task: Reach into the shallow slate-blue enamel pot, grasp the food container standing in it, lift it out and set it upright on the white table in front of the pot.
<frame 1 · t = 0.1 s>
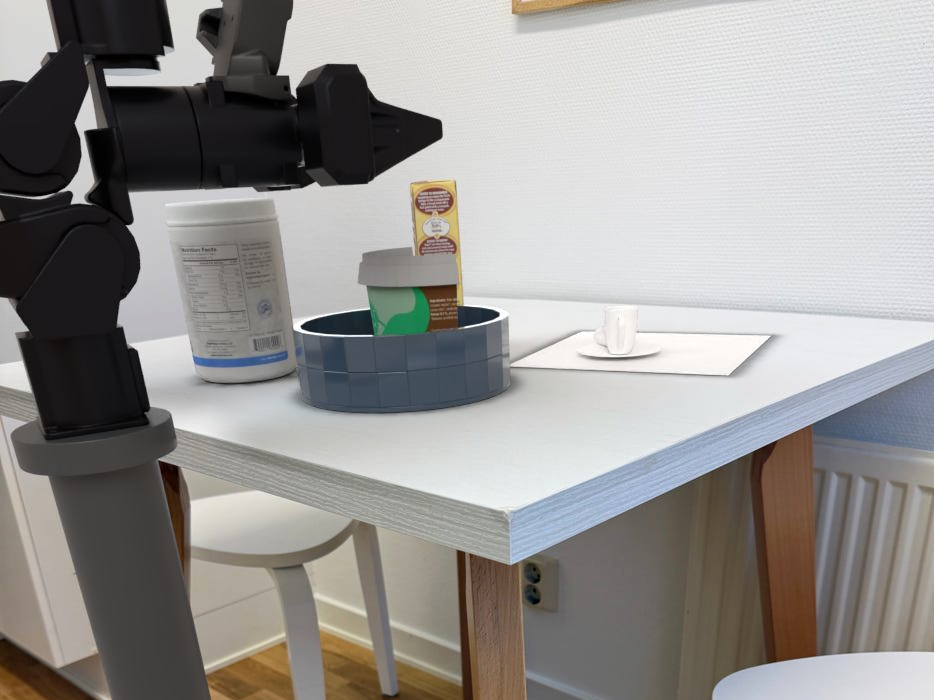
hand: (412, 134, 62), 18 cm above the table, tool horizontal, fingers open, 9 cm apart
pot: (406, 388, 73), on the table
food container: (406, 385, 73), resting on pot
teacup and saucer: (644, 352, 84), on the table
candy box: (443, 355, 88), on the table
supplement tub: (249, 376, 82), on the table
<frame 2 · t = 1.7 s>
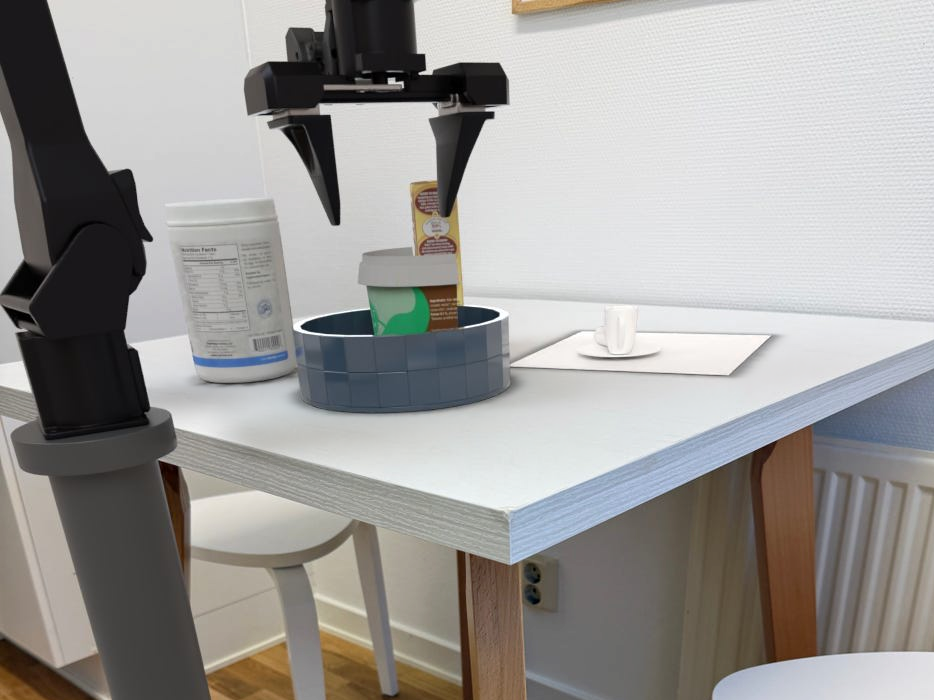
hand: (392, 221, 68), 13 cm above the table, tool pointing down, fingers open, 9 cm apart
nothing on the table moved.
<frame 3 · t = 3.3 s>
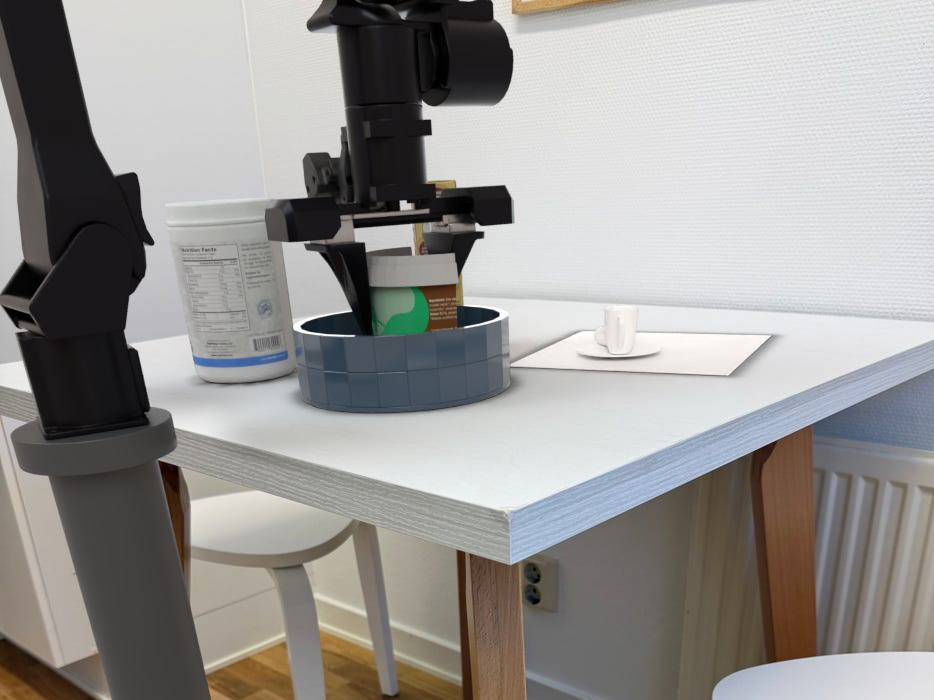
hand: (403, 330, 71), 5 cm above the table, tool pointing down, fingers closed on food container, 6 cm apart
food container: (406, 385, 73), resting on pot, touching gripper
everything else where it was.
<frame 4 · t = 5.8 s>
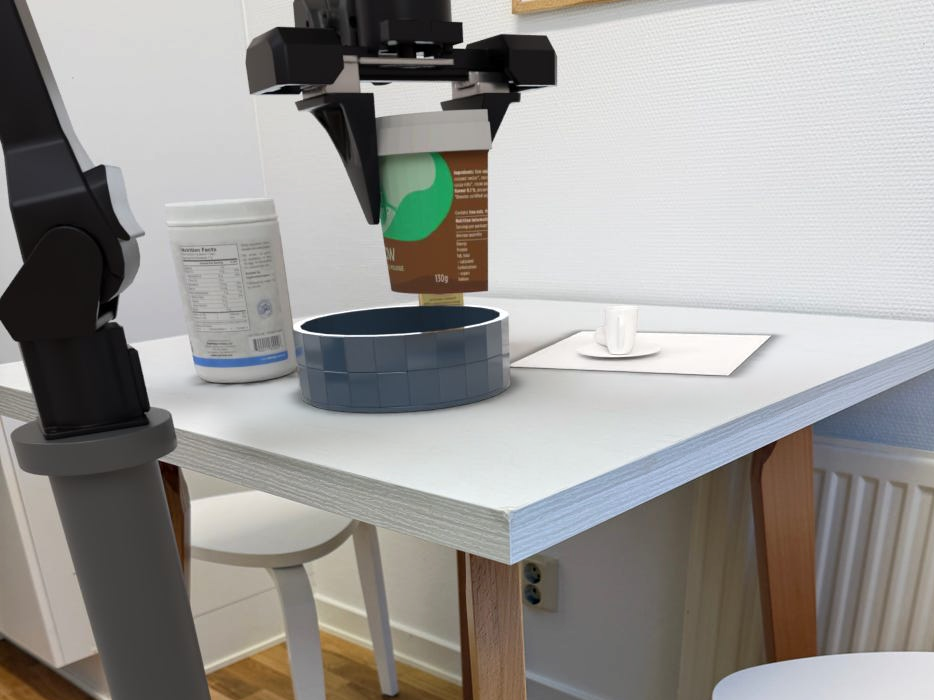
hand: (418, 221, 58), 13 cm above the table, tool pointing down, fingers closed on food container, 6 cm apart
food container: (420, 292, 60), point 9 cm above the table, touching gripper
everything else where it was.
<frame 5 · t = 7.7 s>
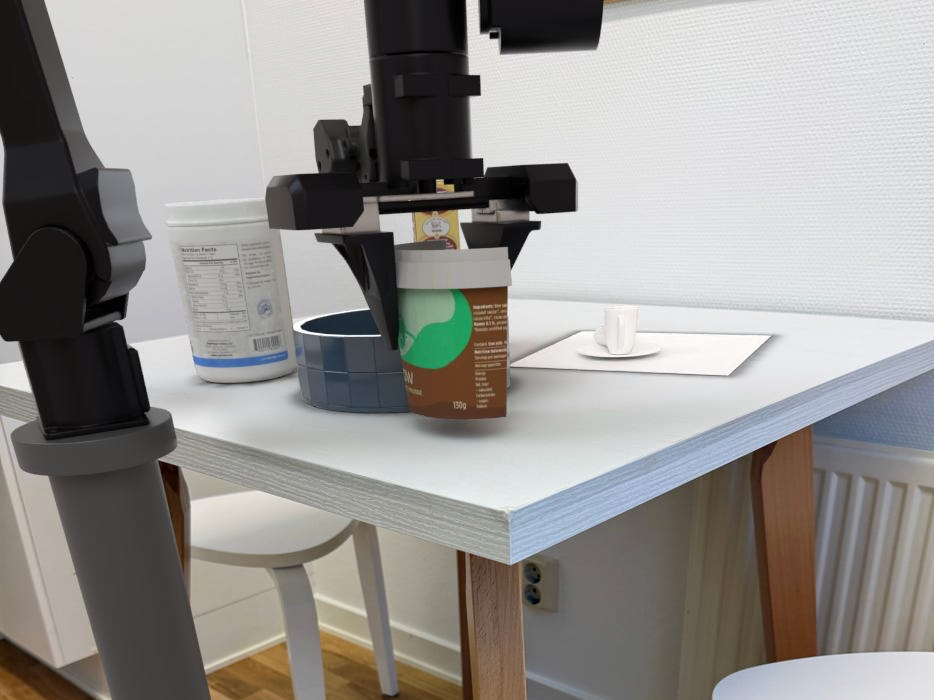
hand: (436, 343, 57), 6 cm above the table, tool pointing down, fingers closed on food container, 6 cm apart
food container: (438, 411, 59), point 1 cm above the table, touching gripper
everything else where it was.
when the fingers open (4 cm above the table, at t = 8.7 s): food container stays where it is, on the table.
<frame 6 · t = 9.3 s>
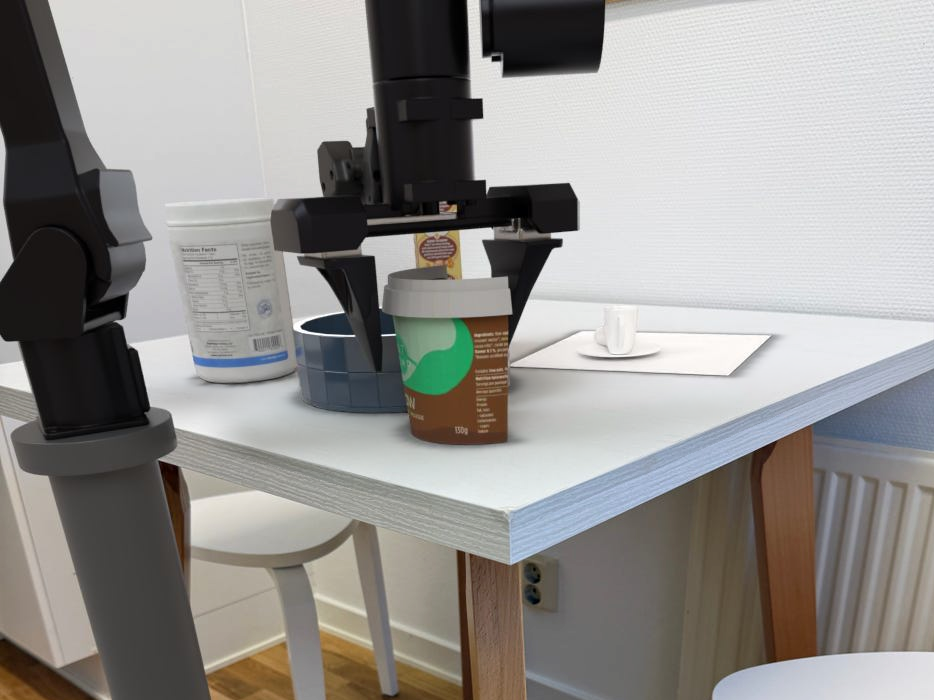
hand: (440, 361, 58), 5 cm above the table, tool pointing down, fingers open, 9 cm apart
food container: (440, 434, 60), on the table
everything else where it was.
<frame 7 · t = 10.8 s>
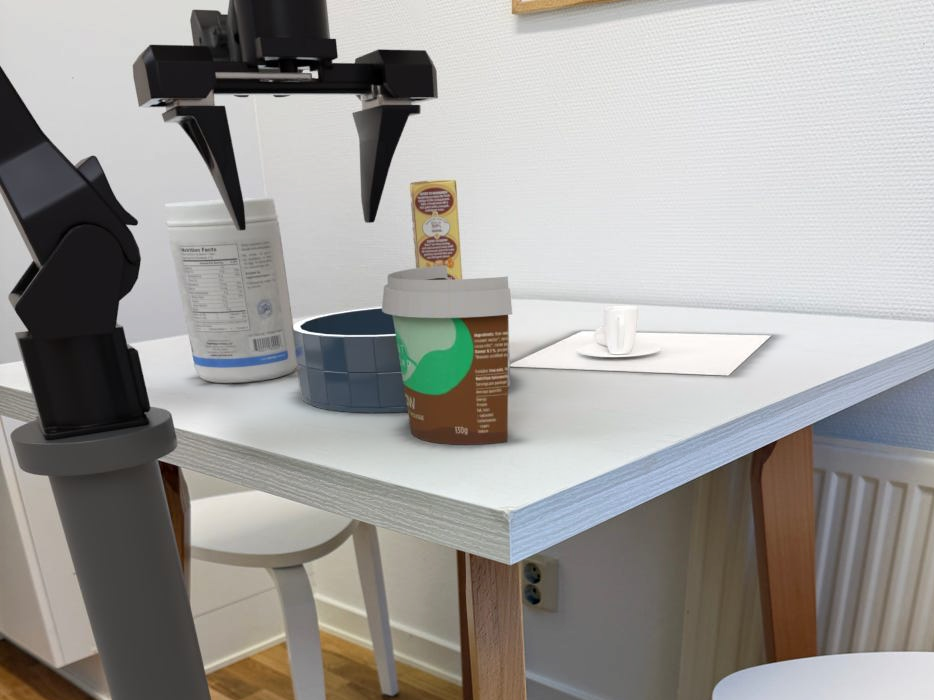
hand: (307, 226, 61), 13 cm above the table, tool pointing down, fingers open, 9 cm apart
nothing on the table moved.
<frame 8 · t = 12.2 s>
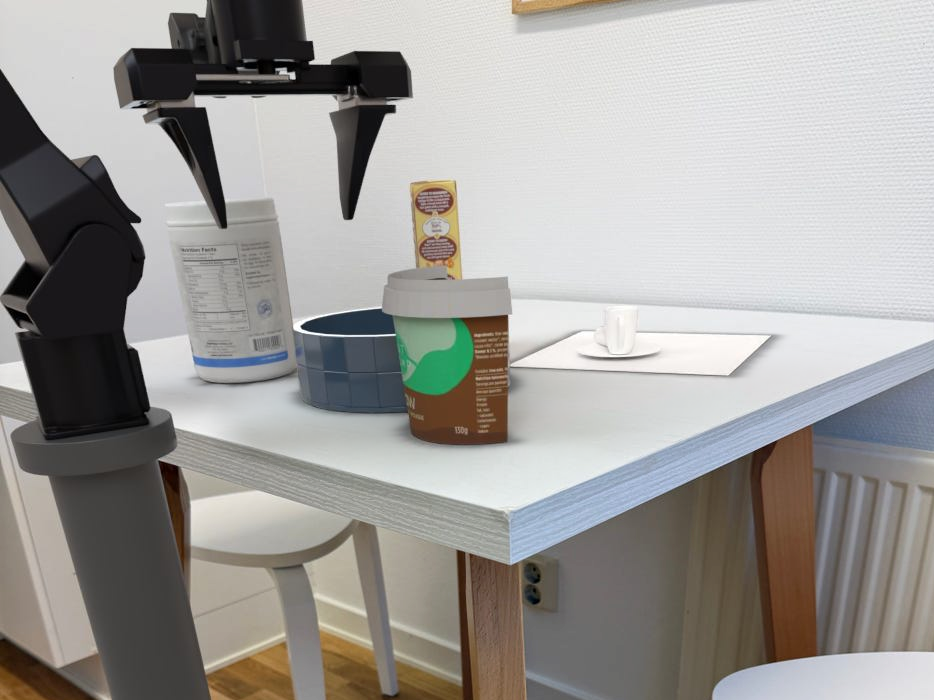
hand: (287, 224, 62), 13 cm above the table, tool pointing down, fingers open, 9 cm apart
nothing on the table moved.
at the end: food container inside the target area (0.3 cm from its centre), on the table; food container tilted 0°; food container touching table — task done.
